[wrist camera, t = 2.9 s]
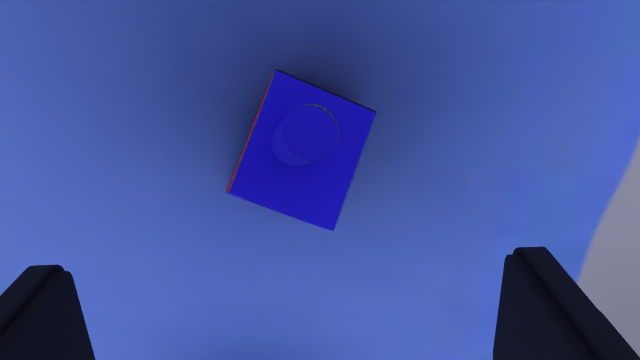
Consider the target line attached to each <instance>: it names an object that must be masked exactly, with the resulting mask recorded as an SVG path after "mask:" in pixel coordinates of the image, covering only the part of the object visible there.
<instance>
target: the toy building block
mask: <svg viewBox="0 0 640 360" xmlns="http://www.w3.org/2000/svg"><path fill="white" fill-rule="evenodd" d="M376 112H377V111H374V110H372V109H369V108H367V107H365V106H362V105H360V104H358V103H355V102H353V101H351V100H348V99H346V98H343V97H341V96H339V95H336V94H334V93H332V92H329V91H327V90H325V89H322V88H320V87H318V86H315V85H313V84H310V83H308V82H306V81H303V80H301V79H299V78H296V77H294V76H292V75H289V74H287V73H284V72H282V71H280V70H277V69H276V70H275V72H274V74H273V76H272V79H271V81H270V83H269V85H268V87H267V89H266V91H265V94H264V97H263V99H262V102H261V104H260V107H259V110H258V112H257V115H256V117H255V120H254V123H253V125H252V128H251V130H250V133H249V136H248V138H247V141H246V143H245V146H244V149H243V151H242V154H241V156H240V159H239V161H238V164H237V167H236V169H235V172H234V173H233V175H232V178H231V180H230V183H229V186H228V188H227V191H226V193H228V194H231V195H234V196H236V197H239V198H242V199H244V200H247V201H250V202H253V203H255V204H258V205H261V206H263V207H266V208H269V209H272V210H274V211H277V212H280V213H282V214H285V215H288V216H291V217H293V218H296V219H299V220H301V221H304V222H307V223H310V224H313V225H316V226H319V227H322V228H325V229H329V230H332V231H334V229H335V226H336V223H337V221H338V218H339V215H340V212H341V210H342V207H343V204H344V201H345V198H346V196H347V193H348V190H349V187H350V185H351V182H352V179H353V176H354V173H355V171H356V168H357V165H358V162H359V160H360V157H361V154H362V151H363V149H364V146H365V143H366V140H367V137H368V135H369V132H370V129H371V126H372V124H373V121H374V118H375V115H376Z"/></svg>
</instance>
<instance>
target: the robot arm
mask: <svg viewBox="0 0 640 360" xmlns="http://www.w3.org/2000/svg"><path fill="white" fill-rule="evenodd" d="M0 360H95V357H94V353H93V350H92V346H91V342H90V339H89V335H88V331H87V328H86V324H85V320H84V317H83V313H82V309H81V306H80V302H79V298H78V295H77V291H76V287H75V284H74V280H73V277H72V274H71V273H70V272H68V271H64V269H63V268H62V266H60V265H37V266H30V267H28V268H27V269H26V270H25V271H24V272H23V273H22V274H21V275H20V276H19V277H18V278H17V279H16V280H15V281H14V282H13V283H12V284H11V285H10V286H9V287H8V288H7V290H6V291H5V292H4V293H3V294H2V295H1V296H0ZM493 360H640V358H639V356H638V355H637V354H636V353H635V351H634V350H633V349H632V348H631V347H630V345H629V344H628V343H627V342H626V341H625V339H624V338H623V337H622V336H621V335H620V334H619V332H618V331H617V330H616V329H615V328H614V326H613V325H612V324H611V323H610V322H609V321H608V319H607V318H606V317H605V316H604V315H603V314H602V313H601V312H600V311H599V310H598V309H597V308H596V307H595V306H594V304H593V303H592V302H591V301H590V300H589V299H588V297H587V296H586V295H585V294H584V292H583V291H582V290H581V289H580V288H579V286H578V285H577V284H576V283H575V282H574V281H573V279H572V278H571V277H570V276H569V275H568V273H567V272H566V271H565V270H564V269H563V267H562V266H561V265H560V264H559V263H558V261H557V260H556V259H555V258H554V257H553V255H552V254H551V253H550V252H549V251H548V249H546V248H545V247H520V248H516V249H515V250H514V252H513V255H507V256H506V258H505V263H504V270H503V278H502V286H501V294H500V301H499V309H498V317H497V325H496V332H495V340H494V348H493Z"/></svg>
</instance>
